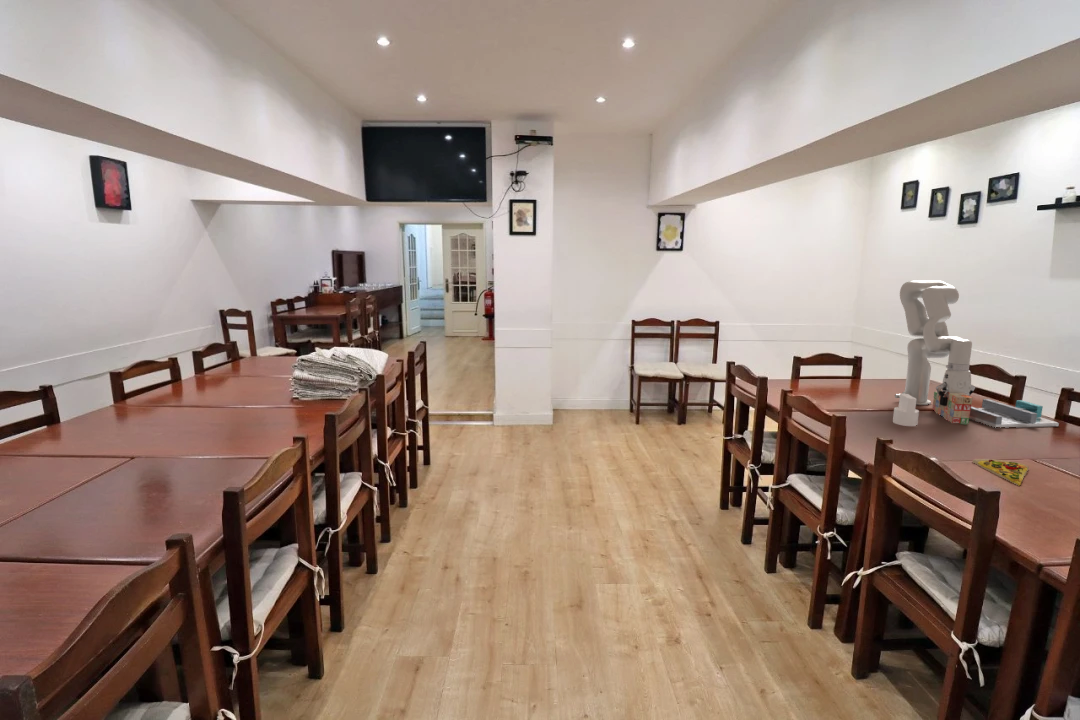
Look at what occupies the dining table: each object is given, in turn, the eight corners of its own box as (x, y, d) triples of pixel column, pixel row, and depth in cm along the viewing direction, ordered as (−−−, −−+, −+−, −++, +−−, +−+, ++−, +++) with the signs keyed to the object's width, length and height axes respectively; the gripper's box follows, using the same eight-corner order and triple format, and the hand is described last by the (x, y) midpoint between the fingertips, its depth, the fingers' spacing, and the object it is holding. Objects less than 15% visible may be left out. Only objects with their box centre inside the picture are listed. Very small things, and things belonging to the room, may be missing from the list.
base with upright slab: (921, 426, 233) (924, 399, 231) (897, 425, 235) (901, 398, 233) (911, 420, 242) (915, 394, 240) (889, 419, 244) (892, 393, 241)
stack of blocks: (931, 410, 257) (934, 384, 255) (947, 411, 256) (950, 385, 253) (951, 423, 237) (955, 396, 235) (968, 425, 235) (972, 397, 233)
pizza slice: (1026, 469, 189) (1027, 460, 188) (1049, 492, 170) (1051, 483, 170) (970, 462, 195) (971, 454, 195) (987, 484, 177) (988, 475, 176)
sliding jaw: (1030, 422, 231) (1032, 411, 230) (981, 407, 255) (983, 396, 254) (1056, 422, 232) (1058, 410, 231) (1005, 406, 255) (1007, 396, 254)
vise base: (995, 428, 231) (997, 416, 230) (949, 412, 254) (951, 401, 253) (1058, 426, 232) (1060, 414, 231) (1007, 410, 256) (1009, 400, 255)
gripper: (946, 369, 237) (941, 407, 240) (984, 368, 238) (979, 406, 241) (932, 366, 245) (928, 403, 248) (969, 365, 246) (965, 402, 249)
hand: (953, 405), depth 244 cm, fingers open, 9 cm apart
